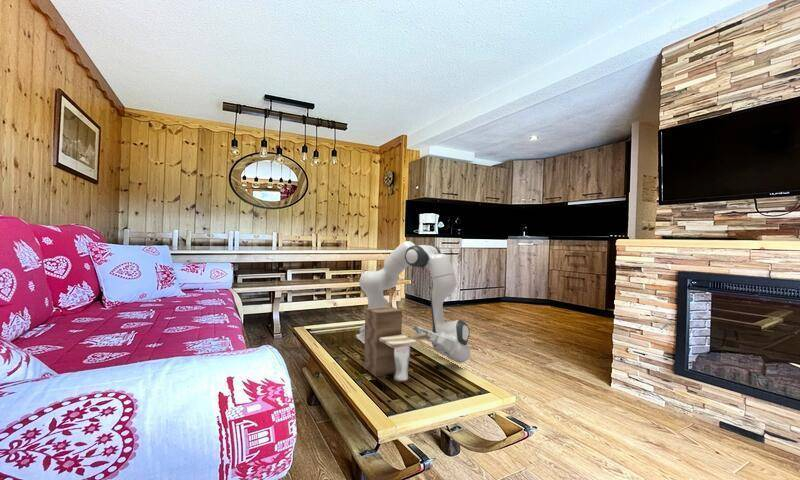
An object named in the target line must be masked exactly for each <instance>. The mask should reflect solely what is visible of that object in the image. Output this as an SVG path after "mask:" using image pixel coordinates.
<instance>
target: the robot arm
mask: <svg viewBox="0 0 800 480" xmlns="http://www.w3.org/2000/svg"><path fill="white" fill-rule="evenodd" d="M408 266H410V267H413V268H420V269H421V268H422V269H423V268H427V269H428V270H429V272H430V275H431V276H430V277H431V281H432V289H431V290H432V291H431V293H430V297H429V298H430V309H431V317H432V331H431V330H428V329H427V328H426V329H425V328H423V327H420V326H417V325H413V327H412V330H413V331H414V332H413V333H414V335H415V334H422V333H426V335H427V336H429V337H430V338H429V339H424V340H425V341H428V342H430V343H431V346H432V349H433V350H434V351H435V352H437V353H439V354H440V355H442V356H446V357H447V358H448V359H450V360H451V361H453V362H456V363H459V364H461V363H465V362H466V361H468V360H469V359H470V357H471V349H470V347H469V338H470V333H471V332H470V328H469V326H468V324H467V322H465V321H464V320H462V319H456V320H452V321H447V322H446V321H445V316H444V315H445V314H444V308H443V307H444V305H443V304H444V301H446V299H447V298H448V297H449V296H450V295H452V294H453V292H454V291H455V289H456V288H457V279H456V275H455V271H454V269H453V265H452V262H451V260H450V258H449V256H448V255H447V254H446V253H442V252H441V250H440V248H439V247H437V246H435V245H432V244H430V245H428V244H418V245H417V244H415V243H414V242H412V241H410V240H409V241H408V240H407V241H403V242H402V243H400V244H399V245H398V246H396V248H394V250H392V252H391V253H390V254H389V255H388V256H387V257H386V258H385V259H384V260H383V267H382V268H380V269H379V270H371V271H367V272H365V273H363V274H361V275H360V278H359V281H358V282H359V287H360V288H361V290H362V291H363V292H364V293H365V295H366V298H367V304H368V305H367V308H374V307H385V306H389V301H388V299H387V298H386V297H385V296H384V291H387V290H390V289H392V288H394V287H396V286H397V284H398V278H399V276H400V275H401V273H403V271H405V269H406V268H407V267H408ZM355 337H356V338H357V339H358V340H360V341H361V342H362V343H363V344H364V343H365V323H364V324H362V325H361V326H360V328H359V333H357V334H355ZM360 341H359V342H360ZM361 342H360V343H361ZM362 343H361V344H362Z"/></svg>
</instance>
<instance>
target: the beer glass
mask: <svg viewBox="0 0 800 480" xmlns="http://www.w3.org/2000/svg"><path fill="white" fill-rule="evenodd" d="M410 356H411V345H409V346H403V347H397V348H393V360H394V367H395V372H394V374H393V380H394V381H397V382H400V383H401V382H406V381H408V380H409V373H408V370H409V369H408V368H409V363H410V358H411V357H410Z"/></svg>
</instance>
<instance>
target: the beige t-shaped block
mask: <svg viewBox="0 0 800 480" xmlns="http://www.w3.org/2000/svg"><path fill="white" fill-rule="evenodd" d="M429 338H430V337H429V336H427V335H426V333H422V334H415V333H414V334H410V335H407V336H406V335H405V334H400V335H394V336H387V337H380V338H379V341H381V342H383V343H385V344H387V345H388V346H390V347H392V348H397V347H403V346H409V345H410V346H414V345H417V344H418V341H422V340H425V339H429Z"/></svg>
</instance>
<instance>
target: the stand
mask: <svg viewBox="0 0 800 480" xmlns="http://www.w3.org/2000/svg"><path fill="white" fill-rule="evenodd" d="M364 309H365V312H364V314H365V316H364V318H365V319H364V324H365V343H364V347H363V348H364V349H363V350H364V351H363V369H365V370H366V371H367V370H368V371H367V372H368V373H370V374H371V375H373V376H374V377H376V378H377V377H380V376H385V375H389V374H390V375H391V374H393V373H394V372H395V367H394V360H393V348H392V347H390V346H388V345H387V344H385V343H383V342H381V341H379V338H380V337H387V336H394V335H400V334H402V333H403V332H402V330H403V328H402V327H403V310H401V309H398V308H396V307H393V306H389V305H388V306H385V307H374V308H368V307H366V308H364Z"/></svg>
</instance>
